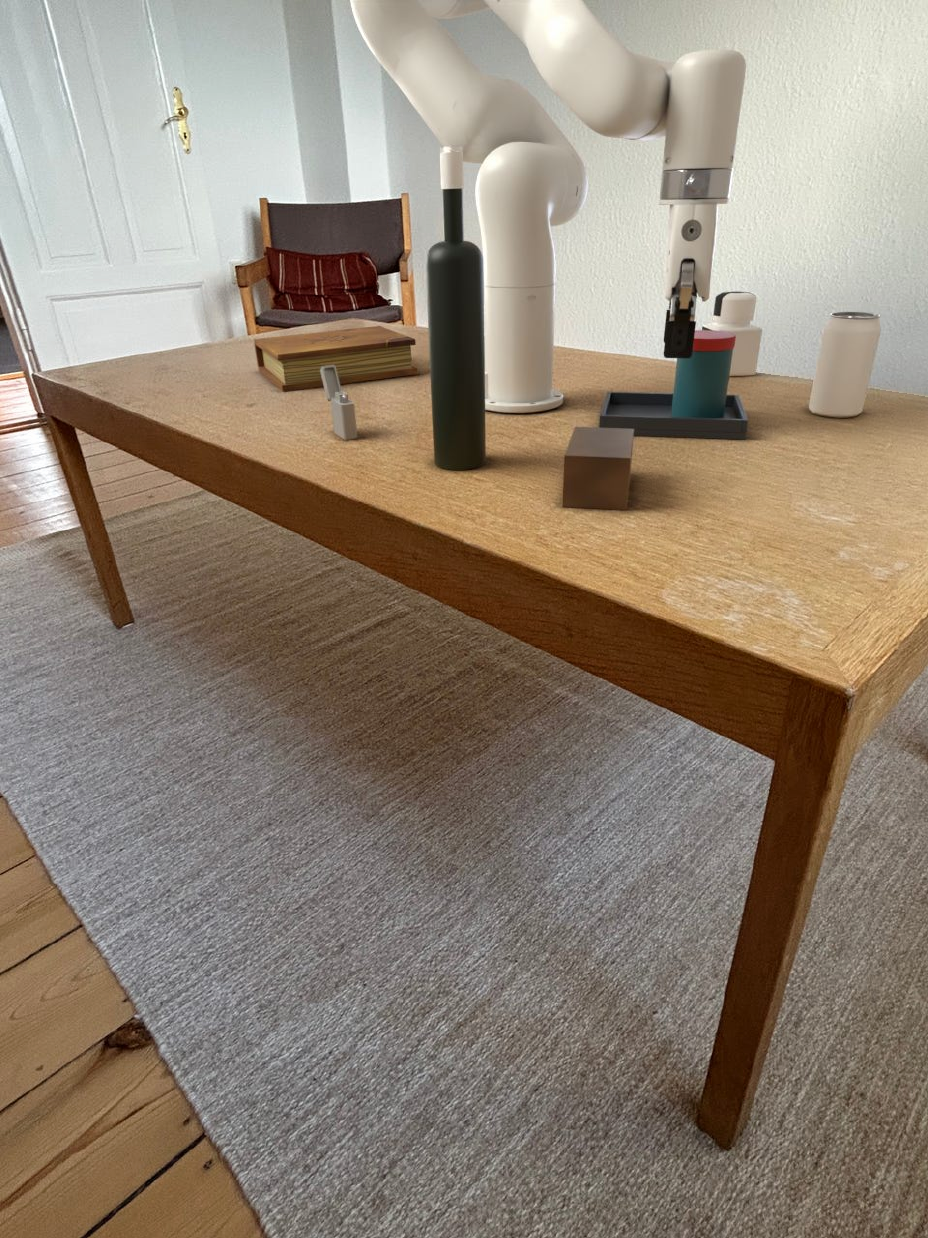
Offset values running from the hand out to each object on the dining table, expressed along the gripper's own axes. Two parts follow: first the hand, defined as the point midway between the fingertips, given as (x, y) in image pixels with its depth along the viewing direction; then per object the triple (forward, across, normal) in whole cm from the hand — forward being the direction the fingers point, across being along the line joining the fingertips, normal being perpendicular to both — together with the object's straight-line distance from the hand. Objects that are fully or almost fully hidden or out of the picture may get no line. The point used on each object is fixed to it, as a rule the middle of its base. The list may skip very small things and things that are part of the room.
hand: (676, 350), depth 92 cm
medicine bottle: (+9, +33, -9) cm, 35 cm away
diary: (+10, +26, +56) cm, 62 cm away
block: (+9, -27, +7) cm, 29 cm away
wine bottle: (+9, -20, +23) cm, 32 cm away
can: (+9, +8, -21) cm, 24 cm away
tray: (+9, 0, 0) cm, 9 cm away
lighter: (+9, -10, +41) cm, 43 cm away
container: (+7, 0, +1) cm, 7 cm away
